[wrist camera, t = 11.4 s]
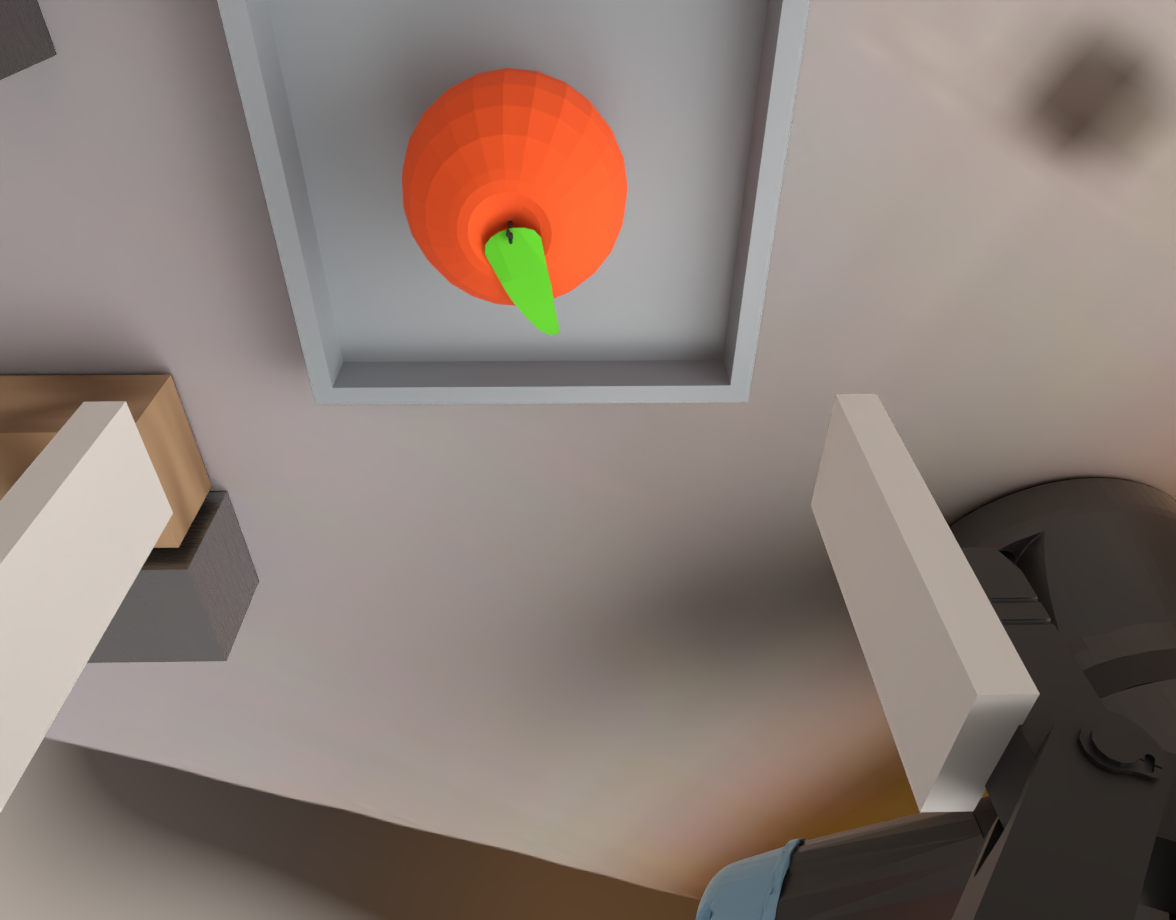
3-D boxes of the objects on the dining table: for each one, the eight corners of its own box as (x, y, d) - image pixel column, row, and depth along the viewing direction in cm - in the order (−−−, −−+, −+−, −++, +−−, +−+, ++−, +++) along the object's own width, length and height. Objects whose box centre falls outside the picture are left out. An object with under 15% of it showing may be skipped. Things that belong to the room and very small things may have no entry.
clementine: (651, 246, 30) (670, 344, 24) (475, 298, 31) (455, 402, 25) (588, 13, 25) (594, 68, 20) (383, 84, 26) (334, 154, 21)
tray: (808, -134, 23) (830, -129, 21) (737, 369, 34) (748, 402, 32) (217, -137, 23) (184, -134, 21) (330, 371, 34) (315, 405, 32)
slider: (170, 374, 33) (5, 604, 24) (211, 486, 37) (83, 724, 27) (-27, 375, 33) (-276, 607, 23) (34, 487, 37) (-159, 728, 27)
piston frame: (33, -56, 24) (-96, -27, 20) (259, 581, 41) (219, 678, 37) (-273, -57, 24) (-479, -28, 19) (80, 582, 41) (17, 681, 36)
